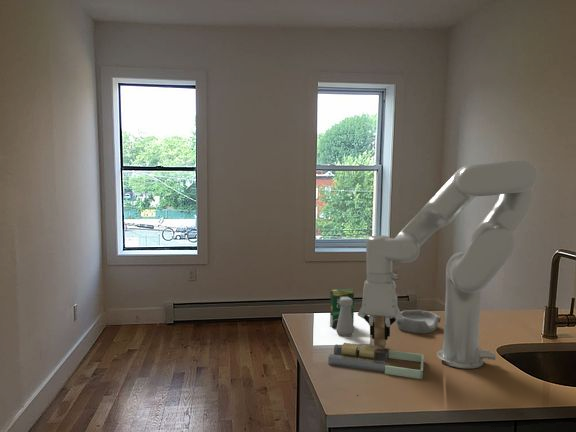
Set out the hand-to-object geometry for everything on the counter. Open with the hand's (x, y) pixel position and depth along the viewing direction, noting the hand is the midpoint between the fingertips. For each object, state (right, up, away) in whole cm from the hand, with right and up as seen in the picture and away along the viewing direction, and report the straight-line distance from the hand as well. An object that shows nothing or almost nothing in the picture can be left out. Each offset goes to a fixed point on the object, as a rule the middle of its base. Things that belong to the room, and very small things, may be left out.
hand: (380, 337), depth 141 cm
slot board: (-8, -5, -9) cm, 13 cm away
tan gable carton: (0, -3, 0) cm, 3 cm away
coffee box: (-9, -3, +24) cm, 26 cm away
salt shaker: (-9, -3, +13) cm, 17 cm away
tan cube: (-10, -4, -8) cm, 14 cm away
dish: (+17, -3, +24) cm, 30 cm away
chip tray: (+4, -6, -12) cm, 14 cm away
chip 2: (-5, -4, -10) cm, 12 cm away
